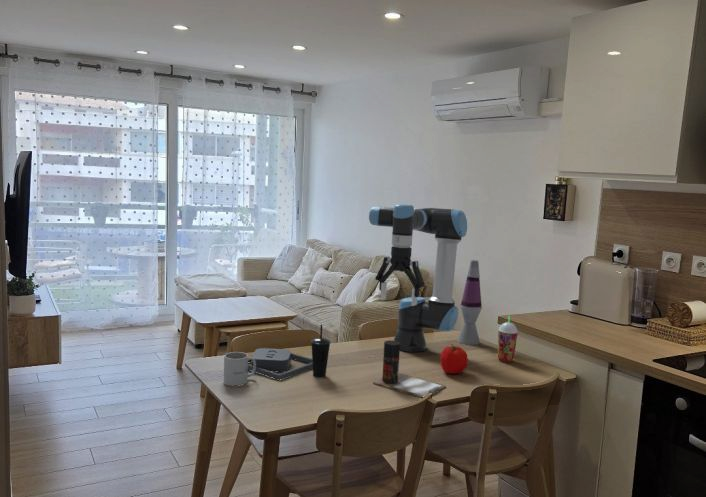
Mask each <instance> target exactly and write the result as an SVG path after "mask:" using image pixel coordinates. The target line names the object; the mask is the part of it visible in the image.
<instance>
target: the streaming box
mask: <svg viewBox="0 0 706 497" xmlns="http://www.w3.org/2000/svg"><path fill="white" fill-rule="evenodd" d="M291 353H292V350H290V349H285V348H283V349H282V348H267V347H263V348H256V349H255V351H254V352H253V353H252V358H254V359H255V362H256V367H259V368H262V369H265V370H268V371H278V372H277V373H284V371H286V372H287V371H289V370H290V366H291V364H290V363H291V362H292V360H291V359H292V358H291ZM250 365H253V361H252V362H251V364H250Z"/></svg>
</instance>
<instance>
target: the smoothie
mask: <svg viewBox="0 0 706 497" xmlns="http://www.w3.org/2000/svg"><path fill="white" fill-rule="evenodd" d="M510 318H511V316H510V315H508V317H507V319H508V320H507V321H506V322H503V323H502V324H501V325H500V326H499V328H497V331H498V332H497V358H498V361H499V362H501V363H506V364H507V363H512V362H513V360H514V359H515V354H516V353H515V352H516V346H517V339H518V333H519V331H518V328H517V326H516V325H515V324H514V323H512V322H510V321H511V320H510Z"/></svg>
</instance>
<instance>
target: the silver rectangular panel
mask: <svg viewBox="0 0 706 497" xmlns="http://www.w3.org/2000/svg"><path fill="white" fill-rule="evenodd" d="M373 385H376V386H379V387H383V388H387V389H389V390H393V391H397V392H400V393H403V394H405V395H410V396H413V397H417V398H419V397H422V396H424V395H426V394H429V393H432V394H433V393H435V392H436V393H438V392H440V391H442V390H443V389H445V388H446V387H447V386H446V385H445V384H441V383H438V382H435V381H430V380H427V379H423V378H419V377H415V376H412V375H410V374H405V373H401V372H398V382H397V383H395V384H387V383H384V382H383V381H382V378H380V379H378V380H375V381H373ZM441 389H442V390H441ZM439 390H440V391H439ZM437 391H438V392H437ZM436 393H435V394H436ZM433 395H434V394H433Z"/></svg>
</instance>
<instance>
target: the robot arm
mask: <svg viewBox="0 0 706 497" xmlns="http://www.w3.org/2000/svg"><path fill="white" fill-rule="evenodd" d="M466 216H467V215H466V214H465V212H464V211H463V210H461V209H460V210H459V209H454V208H436V207H423V208H415V207H414V205H412V204H401V203H400V204H395V205H394V206H393V207H387V206H384V207H383V206H372V207H371V209H370V210H369V212H368V221H369V223H370V224H371V225H373V226H377V227H391V228H392V232H391V248H390V255H391V257H389V256H386V257H385V256H384V257H383V261H382V264H381V266H380V268H379V270H378V272H377V274H376V276H375V280H376V281H378V282H379V291H380V300H381V301H383V300H387V286H388V282H387V280H388V279H389V278H390V276H391V275H392V274H393V273H394V271H396V272H397V271H398V272H404V274H406V276H407V277H408V279H409V281H410V283H411V284H412V286H413V287H412V289H411V296H409V297H405V298H402V299H401V300H399V307H398V321H397V322H398V323H397V331H396V334H395V337H394V339H393V341H398V342H400V351H402V352H409V353H410V352H411V353H418V352H422V351H425V350H426V349H427V342H426V338H425V334H424V329H430V330H435V331H439V332H451V331H452V330H453V329H454V327H455V326H456V324H457V322H458V318H459V307H457V306H456V305H455V304H456V303H455V302H456V301H455V300H454V299H453V288H454V281H455V280H454V279H455V269H456V260H457V251H458V244H459V243H460V242H462V238H463V237H465V236H466V235H467V232H468V220H467V217H466ZM413 231H417V232H421V233H426V234H429V235H434V239H435V240H436V242H437V250H436V257H435V258H436V259H435V267H434V268H435V269H434V278H433V288H432V294H431V296H430V297H429V298H428V301H426V298H425V297H422V296H420V291H421V288H423V287H425V285H426V283H425V282H424V278H423V276H422V273H421V270H420V268H419V261H418V260H414V261H412V260H411V259H412V258H411V257H412V252H413V251H412V246H413ZM389 264H391V265H390V267H389V268H388V266H389ZM387 268H388V270H387Z"/></svg>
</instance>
